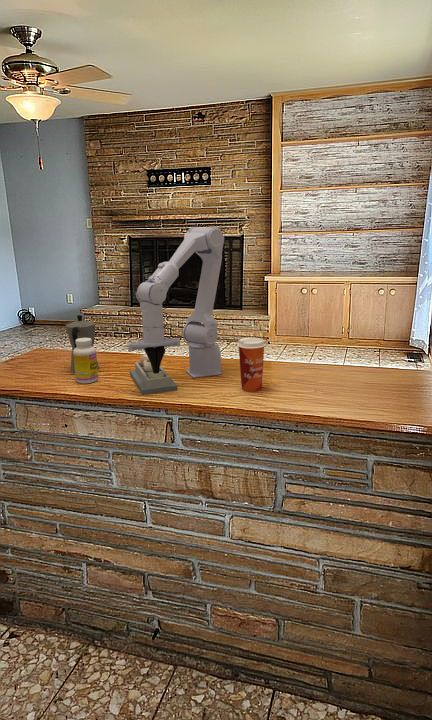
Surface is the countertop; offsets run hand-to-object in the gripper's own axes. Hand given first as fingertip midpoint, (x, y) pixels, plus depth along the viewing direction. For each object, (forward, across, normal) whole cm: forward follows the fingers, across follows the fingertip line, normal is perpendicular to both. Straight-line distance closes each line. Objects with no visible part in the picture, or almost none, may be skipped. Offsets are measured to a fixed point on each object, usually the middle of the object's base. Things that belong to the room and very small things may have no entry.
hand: (155, 372), depth 145 cm
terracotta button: (+1, 0, -12) cm, 12 cm away
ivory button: (+1, 0, -6) cm, 6 cm away
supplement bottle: (+5, +18, -16) cm, 24 cm away
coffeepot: (+5, +18, -26) cm, 32 cm away
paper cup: (+5, -25, +10) cm, 28 cm away
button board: (+5, 0, -6) cm, 8 cm away
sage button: (+3, 0, 0) cm, 3 cm away
